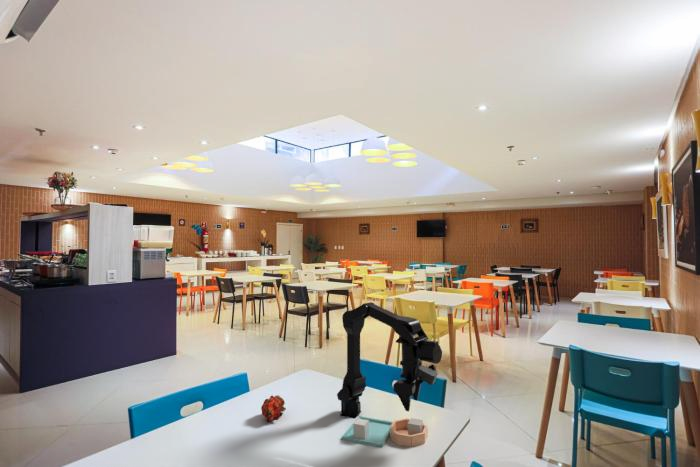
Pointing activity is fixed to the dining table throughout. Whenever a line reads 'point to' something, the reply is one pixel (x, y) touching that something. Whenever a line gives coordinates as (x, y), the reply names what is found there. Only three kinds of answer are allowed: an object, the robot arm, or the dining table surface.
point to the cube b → (415, 426)
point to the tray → (371, 432)
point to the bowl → (401, 433)
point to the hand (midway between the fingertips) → (411, 405)
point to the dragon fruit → (273, 408)
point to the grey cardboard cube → (361, 429)
